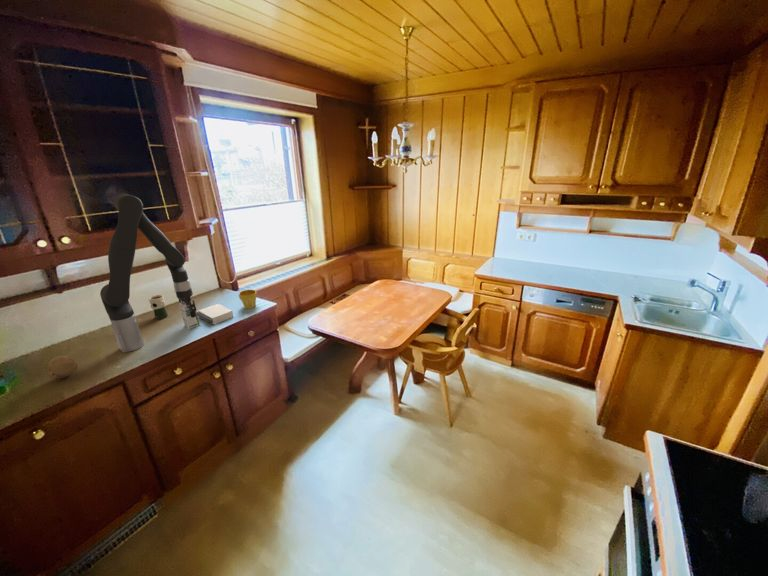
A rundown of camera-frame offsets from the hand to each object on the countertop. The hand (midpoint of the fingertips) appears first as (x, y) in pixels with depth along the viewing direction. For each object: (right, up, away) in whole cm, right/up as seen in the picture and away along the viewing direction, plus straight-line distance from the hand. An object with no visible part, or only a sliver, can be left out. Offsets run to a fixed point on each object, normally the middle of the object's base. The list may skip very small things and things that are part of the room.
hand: (190, 314), depth 175 cm
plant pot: (+22, +3, +26) cm, 35 cm away
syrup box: (0, -7, +2) cm, 7 cm away
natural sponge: (-29, -24, -40) cm, 54 cm away
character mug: (-24, -2, +11) cm, 27 cm away
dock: (+8, -2, +13) cm, 15 cm away
